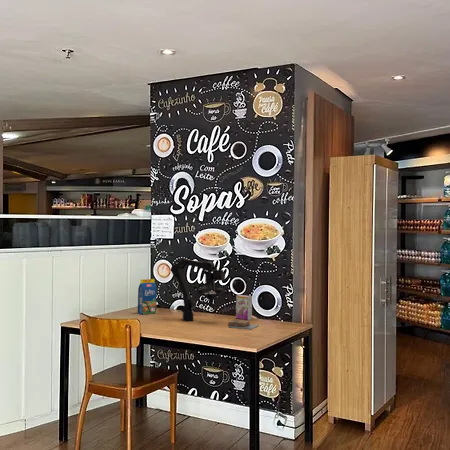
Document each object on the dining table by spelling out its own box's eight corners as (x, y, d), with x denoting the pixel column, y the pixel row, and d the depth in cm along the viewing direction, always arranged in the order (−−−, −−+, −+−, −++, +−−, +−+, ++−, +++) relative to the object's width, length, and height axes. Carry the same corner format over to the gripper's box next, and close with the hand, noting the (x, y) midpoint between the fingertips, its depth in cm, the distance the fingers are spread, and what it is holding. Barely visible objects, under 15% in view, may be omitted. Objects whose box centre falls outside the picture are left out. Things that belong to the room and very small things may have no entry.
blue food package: (156, 313, 417) (157, 279, 418) (142, 314, 410) (143, 279, 410) (151, 312, 422) (152, 278, 423) (137, 313, 414) (138, 279, 415)
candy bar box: (235, 318, 400) (235, 295, 400) (240, 318, 404) (240, 294, 404) (247, 320, 392) (247, 296, 393) (252, 319, 396) (252, 296, 396)
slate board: (228, 327, 360) (228, 326, 360) (237, 324, 375) (237, 323, 375) (251, 329, 355) (251, 328, 355) (258, 325, 370) (258, 325, 370)
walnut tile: (228, 321, 363) (244, 323, 360) (233, 319, 373) (249, 320, 369) (228, 325, 363) (244, 327, 360) (233, 323, 373) (249, 325, 369)
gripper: (191, 282, 378) (192, 305, 377) (215, 281, 368) (217, 305, 368) (200, 280, 387) (202, 303, 387) (224, 279, 378) (225, 303, 378)
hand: (211, 304), depth 380 cm, fingers closed
